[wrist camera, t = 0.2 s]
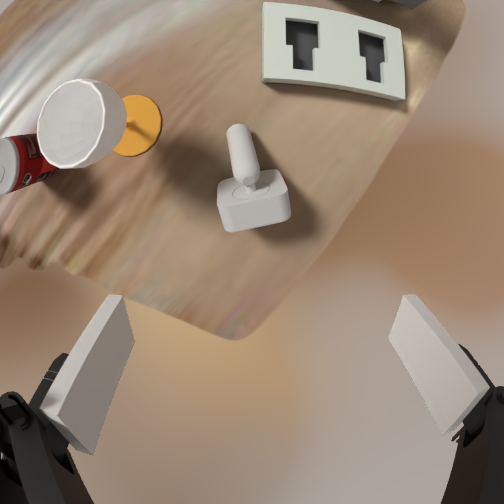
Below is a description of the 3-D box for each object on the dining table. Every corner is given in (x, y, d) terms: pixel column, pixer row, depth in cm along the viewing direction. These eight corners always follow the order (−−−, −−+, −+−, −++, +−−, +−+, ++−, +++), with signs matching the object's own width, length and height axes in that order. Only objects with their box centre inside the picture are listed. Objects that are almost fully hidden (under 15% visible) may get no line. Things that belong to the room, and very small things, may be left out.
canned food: (28, 176, 33) (-14, 192, 23) (33, 131, 30) (-11, 137, 20) (58, 182, 34) (15, 199, 24) (64, 133, 31) (19, 138, 21)
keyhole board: (262, 10, 26) (263, 2, 23) (391, 34, 27) (400, 29, 24) (261, 82, 31) (263, 77, 28) (394, 100, 32) (405, 99, 29)
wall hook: (266, 116, 32) (279, 131, 24) (279, 184, 39) (293, 219, 31) (205, 129, 33) (198, 149, 25) (224, 196, 39) (224, 234, 31)
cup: (165, 149, 34) (115, 160, 19) (108, 162, 34) (40, 182, 19) (158, 88, 30) (106, 61, 16) (102, 104, 30) (32, 96, 16)
